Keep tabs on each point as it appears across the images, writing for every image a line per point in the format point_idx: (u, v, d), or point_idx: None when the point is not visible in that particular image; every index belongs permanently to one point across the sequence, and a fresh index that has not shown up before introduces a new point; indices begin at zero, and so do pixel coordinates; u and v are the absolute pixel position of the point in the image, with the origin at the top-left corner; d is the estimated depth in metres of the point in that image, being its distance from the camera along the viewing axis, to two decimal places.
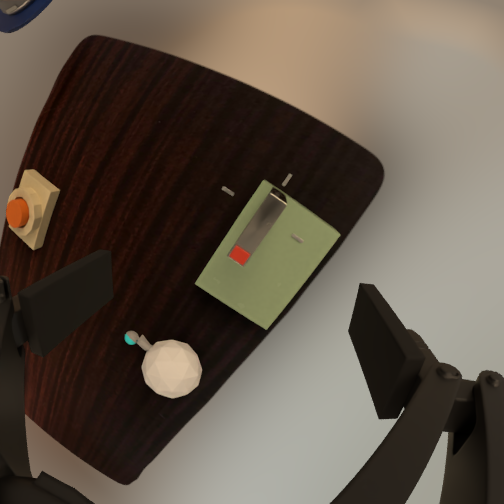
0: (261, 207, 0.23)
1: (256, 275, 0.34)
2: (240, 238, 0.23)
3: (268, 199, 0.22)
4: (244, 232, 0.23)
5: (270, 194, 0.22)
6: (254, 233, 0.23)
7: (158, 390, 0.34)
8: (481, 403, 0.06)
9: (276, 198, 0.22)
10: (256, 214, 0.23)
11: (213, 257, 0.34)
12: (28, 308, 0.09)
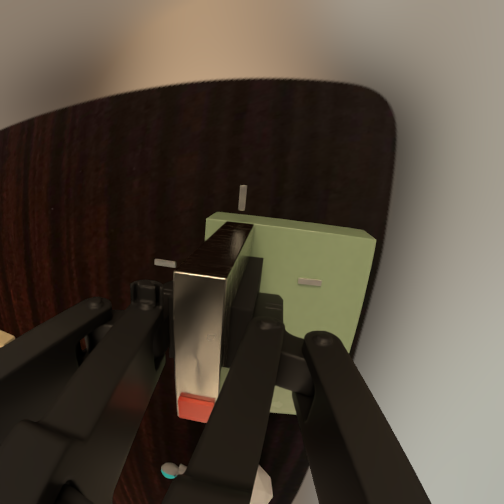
0: (176, 311, 0.09)
1: None
2: (178, 382, 0.10)
3: (180, 288, 0.09)
4: (177, 370, 0.10)
5: (176, 275, 0.09)
6: (195, 365, 0.09)
7: None
8: (313, 367, 0.08)
9: (194, 277, 0.09)
10: (175, 329, 0.09)
11: None
12: None
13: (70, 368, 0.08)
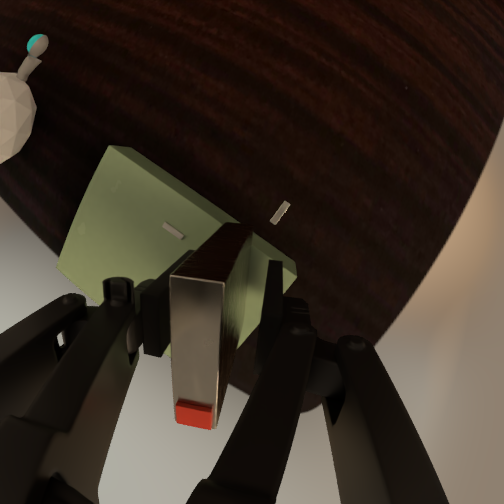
0: (172, 316, 0.09)
1: (130, 257, 0.18)
2: (175, 388, 0.09)
3: (177, 292, 0.08)
4: (174, 376, 0.09)
5: (172, 278, 0.08)
6: (193, 371, 0.09)
7: None
8: (345, 371, 0.08)
9: (191, 281, 0.08)
10: (172, 334, 0.09)
11: (154, 179, 0.17)
12: (152, 309, 0.11)
13: (50, 362, 0.08)
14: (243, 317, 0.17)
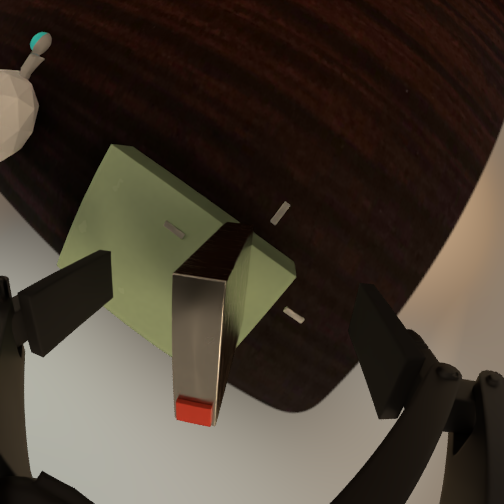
0: (174, 313, 0.09)
1: (131, 255, 0.18)
2: (176, 385, 0.10)
3: (179, 290, 0.09)
4: (175, 373, 0.09)
5: (175, 277, 0.08)
6: (194, 368, 0.09)
7: None
8: (481, 403, 0.06)
9: (193, 279, 0.08)
10: (174, 332, 0.09)
11: (156, 179, 0.17)
12: (28, 308, 0.09)
13: None
14: (242, 316, 0.18)
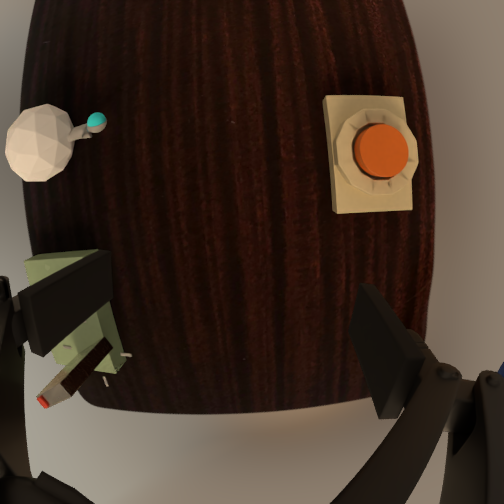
0: (54, 387, 0.21)
1: None
2: (43, 394, 0.21)
3: (58, 386, 0.20)
4: (45, 393, 0.21)
5: (59, 385, 0.20)
6: (50, 397, 0.21)
7: (14, 130, 0.19)
8: (481, 403, 0.06)
9: (63, 389, 0.20)
10: (51, 389, 0.21)
11: None
12: (28, 308, 0.09)
13: None
14: None
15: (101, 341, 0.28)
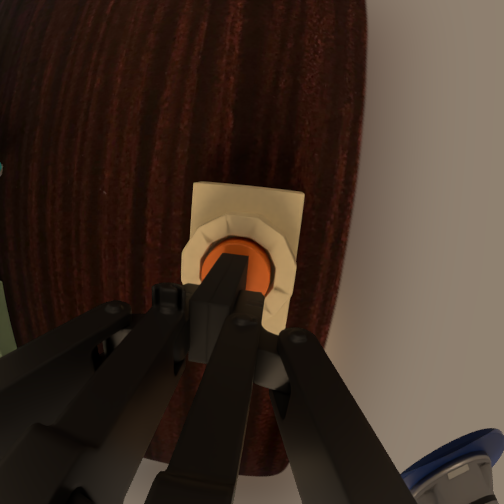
0: None
1: None
2: None
3: None
4: None
5: None
6: None
7: None
8: (288, 364, 0.08)
9: None
10: None
11: None
12: (202, 315, 0.11)
13: (86, 373, 0.08)
14: None
15: None
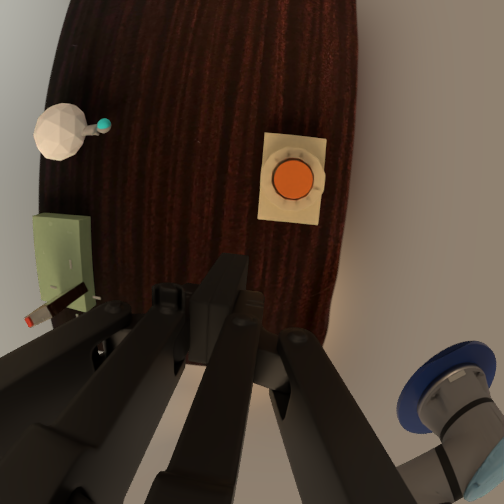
0: (41, 309, 0.30)
1: (54, 251, 0.38)
2: (30, 315, 0.31)
3: (44, 309, 0.30)
4: (32, 314, 0.31)
5: (45, 307, 0.30)
6: (36, 317, 0.31)
7: (44, 121, 0.28)
8: (288, 364, 0.08)
9: (48, 311, 0.30)
10: (38, 311, 0.30)
11: (79, 248, 0.37)
12: (202, 315, 0.11)
13: (86, 373, 0.08)
14: None
15: (80, 284, 0.38)
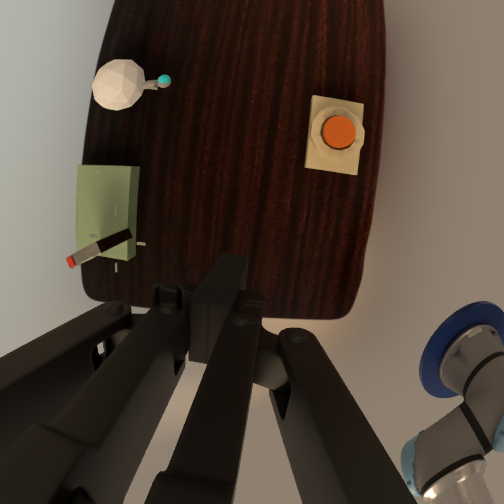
0: (88, 246, 0.33)
1: (99, 199, 0.41)
2: (74, 254, 0.34)
3: (93, 244, 0.33)
4: (77, 252, 0.34)
5: (95, 242, 0.33)
6: (81, 256, 0.34)
7: (107, 71, 0.32)
8: (288, 364, 0.08)
9: (97, 246, 0.33)
10: (85, 247, 0.33)
11: (128, 193, 0.41)
12: (202, 315, 0.11)
13: (86, 373, 0.08)
14: None
15: (126, 229, 0.41)
